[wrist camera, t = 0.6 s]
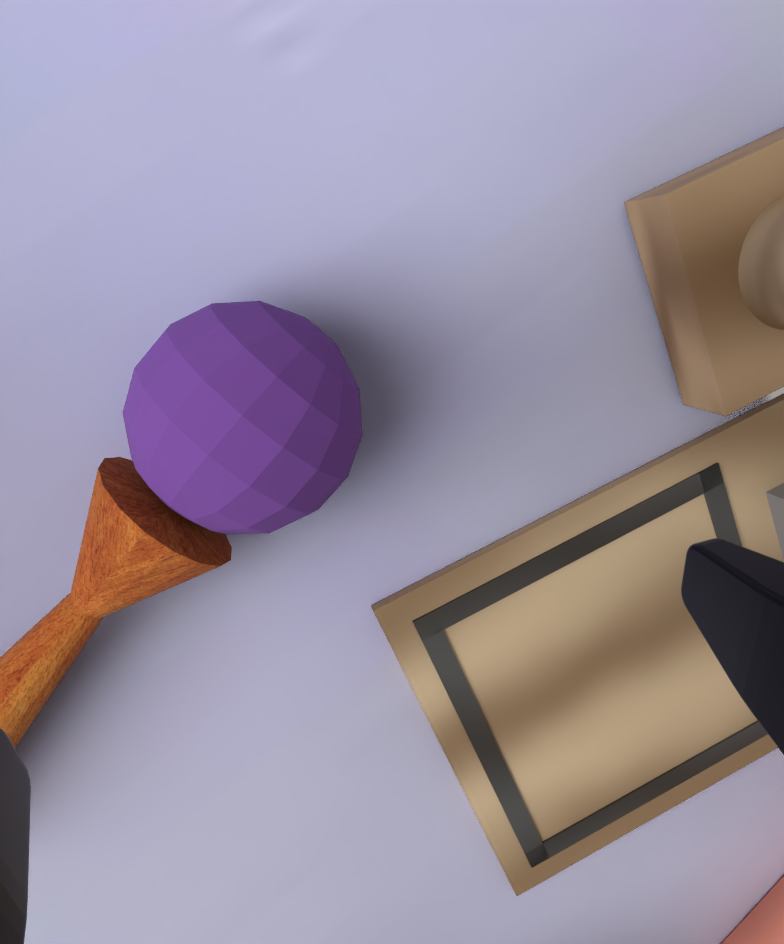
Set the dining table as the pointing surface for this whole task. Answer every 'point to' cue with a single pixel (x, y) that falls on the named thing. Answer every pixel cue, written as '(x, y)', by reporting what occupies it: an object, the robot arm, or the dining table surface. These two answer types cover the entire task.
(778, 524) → the ink pad
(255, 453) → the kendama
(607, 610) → the stamp board
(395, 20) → the dining table surface
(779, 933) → the pottery
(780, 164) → the stamp
